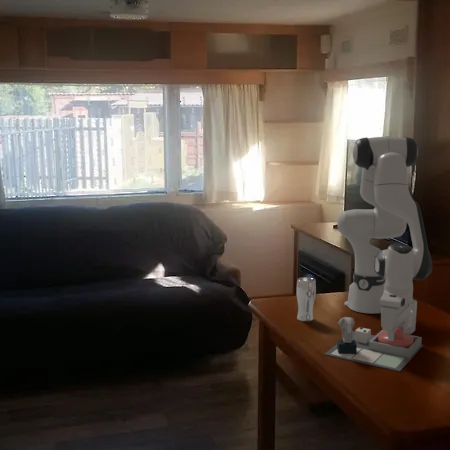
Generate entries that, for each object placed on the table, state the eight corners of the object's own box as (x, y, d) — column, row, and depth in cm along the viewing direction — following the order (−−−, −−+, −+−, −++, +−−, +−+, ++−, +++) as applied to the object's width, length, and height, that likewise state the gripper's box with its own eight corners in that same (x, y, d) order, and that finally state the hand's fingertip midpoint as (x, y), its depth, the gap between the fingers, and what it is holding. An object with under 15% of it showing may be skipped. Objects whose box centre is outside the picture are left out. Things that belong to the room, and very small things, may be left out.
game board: (352, 332, 218) (353, 319, 218) (422, 345, 206) (423, 332, 205) (324, 354, 198) (324, 341, 197) (399, 371, 185) (400, 357, 184)
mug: (385, 327, 224) (386, 297, 222) (409, 326, 224) (411, 296, 222) (397, 339, 212) (398, 307, 210) (422, 338, 213) (424, 307, 211)
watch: (353, 346, 204) (355, 314, 202) (357, 356, 196) (358, 322, 194) (336, 346, 204) (337, 313, 202) (338, 355, 196) (340, 321, 194)
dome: (384, 337, 211) (384, 321, 210) (417, 343, 205) (418, 327, 204) (373, 347, 202) (374, 330, 201) (407, 354, 196) (408, 337, 195)
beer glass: (314, 322, 228) (315, 282, 226) (294, 321, 230) (296, 281, 227) (315, 316, 235) (316, 277, 232) (296, 315, 236) (297, 276, 234)
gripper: (398, 286, 211) (395, 325, 213) (378, 301, 194) (376, 343, 196) (417, 289, 208) (414, 329, 210) (398, 304, 191) (396, 347, 193)
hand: (395, 336), depth 203 cm, fingers open, 8 cm apart
